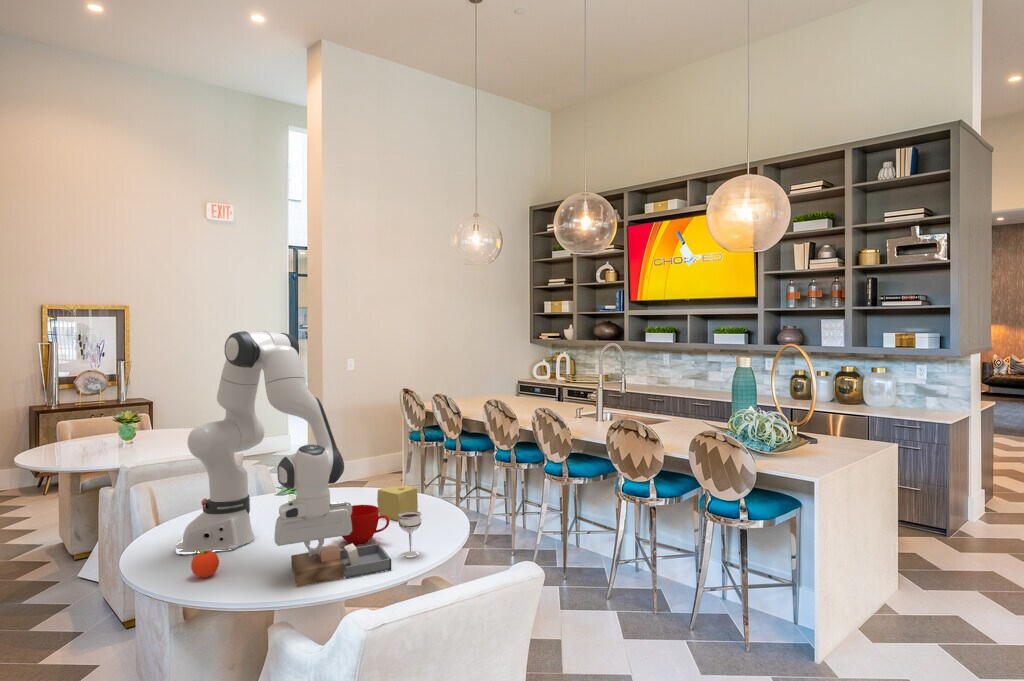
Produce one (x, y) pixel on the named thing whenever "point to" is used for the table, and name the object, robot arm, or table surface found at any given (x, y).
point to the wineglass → (409, 525)
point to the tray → (367, 561)
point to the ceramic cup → (364, 524)
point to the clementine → (204, 563)
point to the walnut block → (315, 569)
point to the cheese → (397, 500)
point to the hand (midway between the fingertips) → (314, 555)
